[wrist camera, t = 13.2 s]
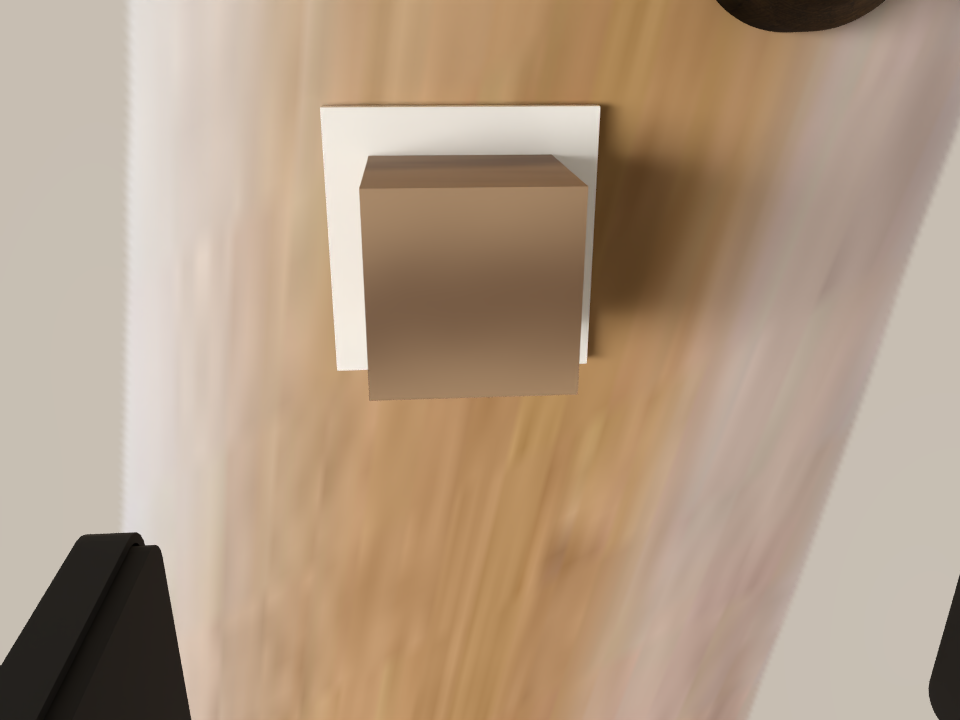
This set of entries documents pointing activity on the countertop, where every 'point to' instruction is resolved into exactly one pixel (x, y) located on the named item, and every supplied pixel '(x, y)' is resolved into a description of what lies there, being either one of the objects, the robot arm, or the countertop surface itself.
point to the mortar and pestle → (798, 13)
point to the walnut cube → (472, 275)
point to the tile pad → (437, 133)
